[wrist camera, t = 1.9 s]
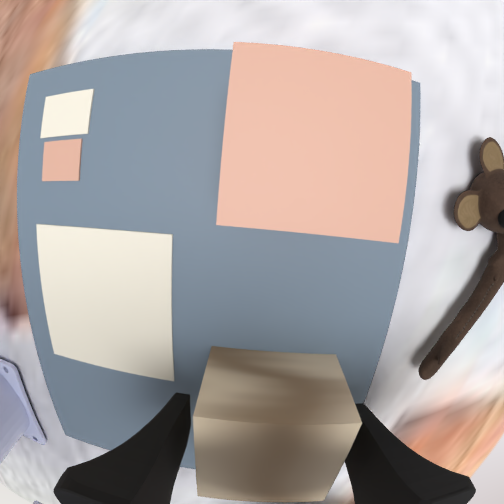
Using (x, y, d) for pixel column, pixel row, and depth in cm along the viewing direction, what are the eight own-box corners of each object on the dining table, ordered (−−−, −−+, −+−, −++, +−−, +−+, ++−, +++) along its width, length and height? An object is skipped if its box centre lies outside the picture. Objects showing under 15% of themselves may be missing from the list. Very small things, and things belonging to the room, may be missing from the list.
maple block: (209, 429, 14) (197, 495, 10) (211, 345, 13) (192, 416, 9) (312, 435, 14) (323, 500, 10) (335, 354, 13) (362, 422, 9)
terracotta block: (232, 206, 11) (215, 225, 7) (243, 90, 10) (233, 41, 6) (349, 218, 11) (398, 243, 7) (359, 105, 10) (411, 72, 6)
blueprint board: (69, 429, 16) (65, 435, 15) (36, 76, 11) (29, 73, 10) (330, 468, 16) (332, 475, 15) (414, 86, 11) (421, 82, 10)
